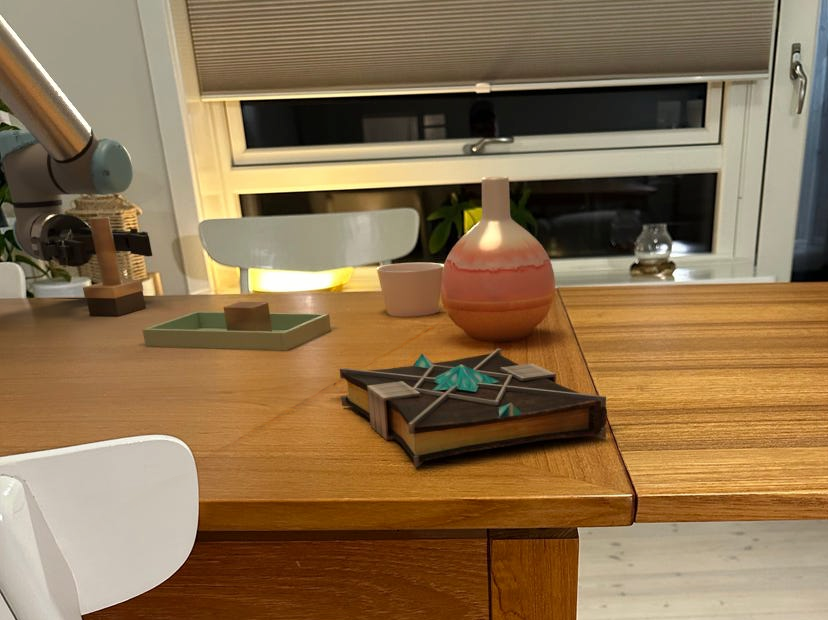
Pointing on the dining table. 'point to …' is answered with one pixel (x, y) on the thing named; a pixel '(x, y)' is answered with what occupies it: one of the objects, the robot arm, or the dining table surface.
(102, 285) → the brush
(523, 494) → the dining table surface
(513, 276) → the vase
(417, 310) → the pink cup
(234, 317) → the brown cube
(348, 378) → the book
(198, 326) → the tray
